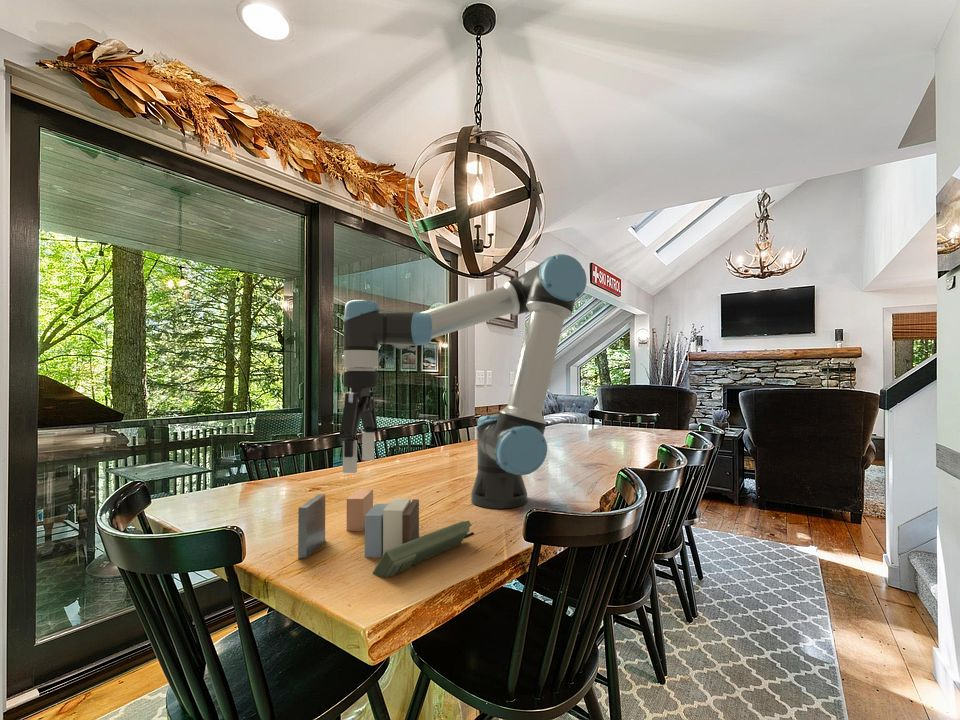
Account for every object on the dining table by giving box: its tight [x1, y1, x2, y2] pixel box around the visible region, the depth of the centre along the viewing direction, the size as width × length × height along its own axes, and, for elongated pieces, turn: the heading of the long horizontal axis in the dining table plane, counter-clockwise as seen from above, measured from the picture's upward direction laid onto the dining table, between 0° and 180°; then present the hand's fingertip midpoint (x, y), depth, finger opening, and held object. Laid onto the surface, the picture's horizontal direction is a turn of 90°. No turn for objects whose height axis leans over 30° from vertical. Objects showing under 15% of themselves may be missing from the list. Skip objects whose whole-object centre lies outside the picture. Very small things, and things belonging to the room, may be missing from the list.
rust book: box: [346, 488, 374, 532], centre depth 99 cm, size 4×8×8 cm, turn 178°
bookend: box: [297, 493, 326, 559], centre depth 85 cm, size 2×9×9 cm, turn 178°
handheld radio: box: [372, 520, 476, 578], centre depth 82 cm, size 7×3×25 cm
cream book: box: [382, 497, 412, 556], centre depth 84 cm, size 4×8×8 cm, turn 178°
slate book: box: [364, 503, 389, 558], centre depth 84 cm, size 3×8×8 cm, turn 178°
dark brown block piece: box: [403, 498, 420, 544], centre depth 85 cm, size 21×10×9 cm, turn 88°
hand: (359, 466), depth 99 cm, fingers open, 13 cm apart
